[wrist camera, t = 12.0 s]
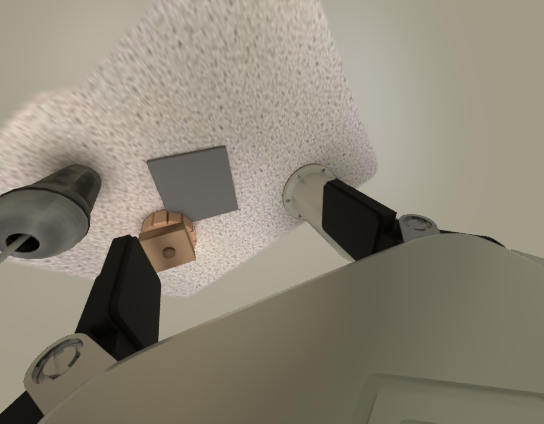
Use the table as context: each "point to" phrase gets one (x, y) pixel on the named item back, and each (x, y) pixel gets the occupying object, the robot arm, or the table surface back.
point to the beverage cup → (48, 214)
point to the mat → (195, 183)
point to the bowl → (169, 223)
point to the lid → (167, 246)
